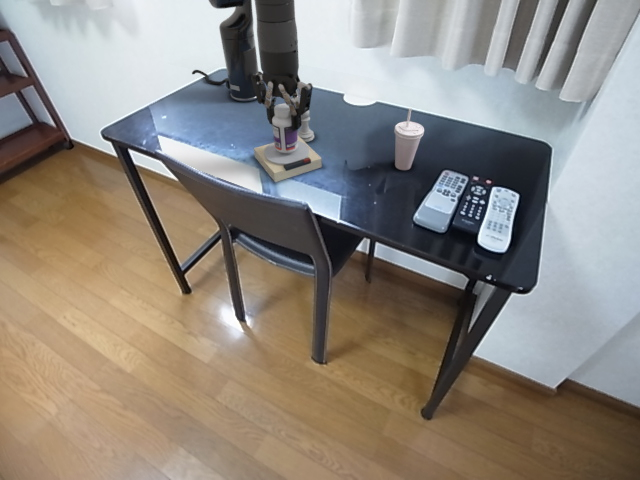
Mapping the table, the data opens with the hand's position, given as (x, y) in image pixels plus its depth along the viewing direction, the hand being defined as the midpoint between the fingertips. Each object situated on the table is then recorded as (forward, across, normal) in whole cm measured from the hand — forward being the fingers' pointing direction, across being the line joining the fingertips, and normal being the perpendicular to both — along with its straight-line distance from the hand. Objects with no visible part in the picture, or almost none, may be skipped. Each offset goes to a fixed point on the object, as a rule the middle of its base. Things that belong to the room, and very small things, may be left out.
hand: (284, 125), depth 83 cm
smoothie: (+10, +25, +12) cm, 29 cm away
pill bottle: (+6, 0, 0) cm, 6 cm away
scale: (+9, 0, 0) cm, 9 cm away
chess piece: (+10, -2, +12) cm, 15 cm away
